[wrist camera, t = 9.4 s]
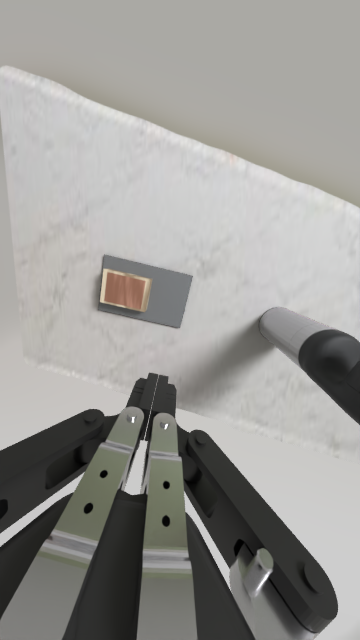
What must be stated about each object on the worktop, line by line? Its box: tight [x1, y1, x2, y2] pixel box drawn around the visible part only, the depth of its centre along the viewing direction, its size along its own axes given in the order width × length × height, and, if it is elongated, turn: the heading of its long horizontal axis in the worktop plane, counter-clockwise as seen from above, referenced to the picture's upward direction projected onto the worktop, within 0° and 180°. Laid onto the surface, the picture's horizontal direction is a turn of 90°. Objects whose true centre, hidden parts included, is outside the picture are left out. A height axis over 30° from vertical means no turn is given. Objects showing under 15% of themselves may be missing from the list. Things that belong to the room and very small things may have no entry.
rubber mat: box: [98, 255, 193, 328], centre depth 46 cm, size 22×14×1 cm, turn 77°
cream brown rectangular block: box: [100, 269, 152, 312], centre depth 45 cm, size 3×8×11 cm
